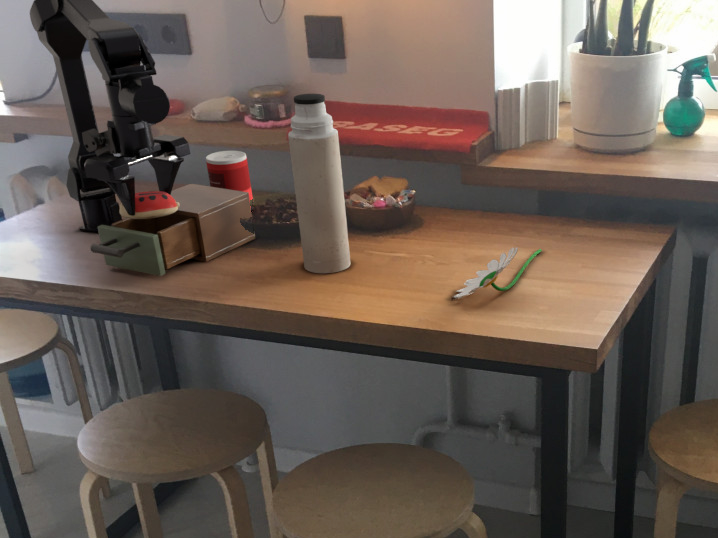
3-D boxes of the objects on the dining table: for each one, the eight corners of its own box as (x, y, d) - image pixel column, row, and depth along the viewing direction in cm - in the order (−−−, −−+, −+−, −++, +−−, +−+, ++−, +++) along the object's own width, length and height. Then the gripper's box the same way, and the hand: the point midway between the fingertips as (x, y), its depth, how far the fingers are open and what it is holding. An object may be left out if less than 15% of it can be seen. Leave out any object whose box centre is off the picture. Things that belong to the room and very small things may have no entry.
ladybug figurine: (120, 211, 174) (116, 191, 172) (179, 206, 176) (176, 185, 174) (120, 223, 169) (116, 202, 167) (181, 217, 171) (177, 196, 169)
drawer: (138, 286, 166) (129, 246, 162) (83, 275, 171) (73, 235, 167) (210, 253, 179) (203, 215, 175) (157, 243, 184) (149, 206, 180)
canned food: (259, 206, 205) (251, 150, 199) (247, 218, 198) (238, 161, 192) (222, 205, 205) (213, 150, 199) (209, 217, 199) (199, 160, 193)
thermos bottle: (317, 255, 180) (298, 88, 164) (358, 260, 177) (342, 91, 162) (296, 270, 173) (274, 99, 158) (337, 275, 171) (319, 101, 156)
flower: (562, 219, 176) (498, 255, 151) (576, 247, 177) (515, 288, 152) (501, 253, 182) (430, 293, 157) (515, 280, 183) (448, 324, 158)
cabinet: (206, 261, 178) (198, 213, 173) (148, 250, 183) (138, 203, 178) (255, 238, 188) (248, 192, 183) (198, 228, 193) (190, 183, 188)
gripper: (134, 97, 173) (151, 188, 182) (48, 120, 160) (72, 217, 168) (184, 102, 169) (200, 196, 178) (101, 127, 155) (122, 227, 164)
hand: (149, 208), depth 172 cm, fingers closed on ladybug figurine, 8 cm apart
